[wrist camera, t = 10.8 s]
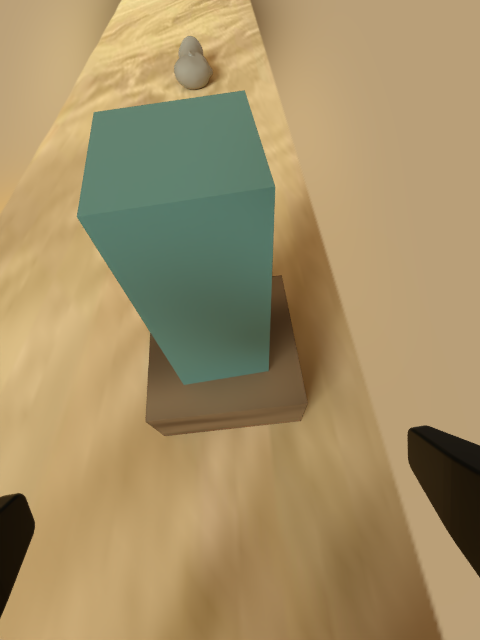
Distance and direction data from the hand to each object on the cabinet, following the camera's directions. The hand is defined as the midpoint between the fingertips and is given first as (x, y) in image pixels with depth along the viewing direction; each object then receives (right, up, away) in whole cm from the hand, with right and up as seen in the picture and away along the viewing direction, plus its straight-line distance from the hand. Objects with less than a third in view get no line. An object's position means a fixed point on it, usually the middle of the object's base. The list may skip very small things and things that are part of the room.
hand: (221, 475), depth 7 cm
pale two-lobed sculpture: (-6, +38, +39) cm, 55 cm away
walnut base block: (0, 0, +16) cm, 16 cm away
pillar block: (-1, +2, +13) cm, 13 cm away
